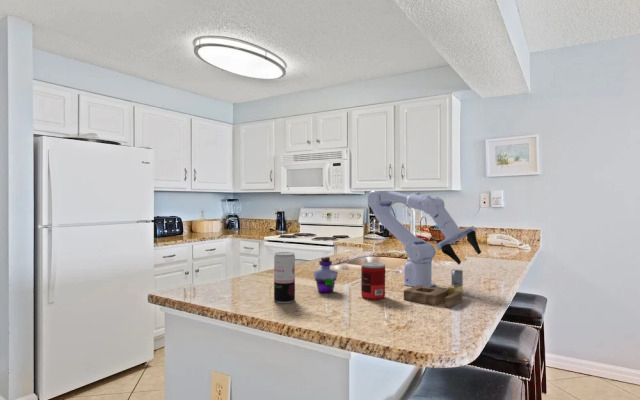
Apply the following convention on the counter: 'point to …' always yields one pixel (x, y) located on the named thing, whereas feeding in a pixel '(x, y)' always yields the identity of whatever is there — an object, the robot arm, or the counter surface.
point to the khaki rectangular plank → (454, 289)
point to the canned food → (373, 281)
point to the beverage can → (284, 277)
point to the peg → (457, 278)
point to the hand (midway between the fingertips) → (469, 258)
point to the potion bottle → (325, 276)
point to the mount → (432, 296)
